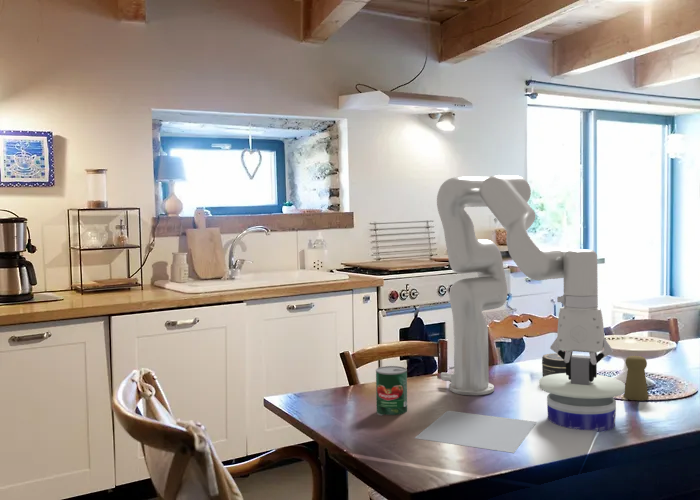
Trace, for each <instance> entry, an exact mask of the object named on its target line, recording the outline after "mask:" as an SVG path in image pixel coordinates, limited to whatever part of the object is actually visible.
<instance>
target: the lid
mask: <svg viewBox="0 0 700 500" xmlns="http://www.w3.org/2000/svg"><path fill="white" fill-rule="evenodd" d="M572 355H573V356H572V357H571V380H569V379H568V375H566V373H559V374H551V375H547V376H544V377H543V376H542V377H541V378H539V379H538V380H539V388H540V389H541V390H542V391H544V392H546V393H548V394H550V393H552V394H555V395H559V396H565V397H572V398H585V399H600V398H610V397H613V398H614V397H619V396H621V395H623V394H624V392H625V385H626V383H624V382H623V381H621V380H620V379H618V378H615V377H612V376H611V377H610V376H606V375H602V374H597V377H596V378H594V380H593V382H590V381H589V365H590V361H591V359H590V355H581V354H580V355H579V354H572Z"/></svg>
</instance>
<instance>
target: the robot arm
mask: <svg viewBox="0 0 700 500" xmlns="http://www.w3.org/2000/svg"><path fill="white" fill-rule="evenodd" d="M531 194H532V189H531V186H530V184H529V183H528V181H527V180H526V179H525V178H523V176H519V175H512V174H511V175H505V174H501V175H500V174H498V175H497V174H496V175H491V176H453V177H451V178H448V179H446V180H445V181H444V182H442V184H441V185H440V187H439V189H438V191H437V196H436V207H437V212H438V215H439V217H440V222H441V224H442V227H443V228H442V229H443V232H444V233H443V235H444V240H445V241H444V242H445V247H446V253H447V258H448V263H449V265H450V268H451V270H452V271H453V272H454V273H456V274H461V275H462V274H463V275H464V274H475V273H476V274H477V277H476V276H475V277H467V278H462V279H459V280H457V281H455V282H454V283H453V284H452V285H451V287H450V289H449V294H448V296H449V297H448V298H449V303H450V309H451V313H452V323H453V361H454V362H453V364H454V365H453V372H451V373H449V372H441V373H440V379H441V380H442V381H447V382H450V384H448V389H449V391H450V392H452V393H454V394H457V395H463V396H464V395H465V396H483V395H489V394H491V393H493V392H494V391H495V386H494V384H492V383H491V382H489V330H488V329H489V328H488V324H487V321H486V318H485V316H484V315H483V311H489V310H496V309H500V308H501V307H503V306H504V305H505V303H507V299H508V283H507V279H506V274H505V267H504V262H503V256H502V253H501V251H500V248H499V247H498V245H497V244H496V243H495V242H494V241H492V240H490V239H485V238H482V239H481V238H479V239H477V236H476V231H475V226H474V223H473V221H472V219H471V217H470V215H469V213H467V211H466V210H465V208H466V207H467V208H469V207H470V208H474V207H475V208H477V207H479V208H481V207H482V208H483V207H484V208H485V207H486V208H488V209H489V211H491V213H492V214H493V215H494V217H495V218H496V220H497V221H498V222H499V223H500V225H501V226H502V227H503V229H504V230H505V231H506V238H505V239H506V246H507V250H508V253H509V256H510V258H511V259H512V260H513V262H514V263H515V264H516V266H517V267H518V268H519V270H520V271H521V272H522V273H523V274H524V275H525V276H526V277H528V278H529V279H531V280H534V281H546V280H555V279H556V280H557V279H563V294H562V295H561V296H557V303H561V304H562V307H560V308H559V313H558V320H557V333H556V334H557V335H556V336H557V337H556V338H555V340H554V341H553V342H552V343H551V345H550V347H549V349H550V350H552V351H553V352H554V353H557V354H558V355H559V356H560V357H561V358H562V359H563V360H564V361H565V362H566V375H568V379H569V380H571V357H572V355H573V352H576V353H577V352H581V353H589V356H590V359H591V361H590V365H589V381H590V382H593V380H594V378H596V377H597V375H598V373H597V368H598V365H597V364H598V363H599V362H600V361H602V359H604V358H605V357H607V356H609V355H611V354H613V352H614V350H613V348H612V347H611V346H610V344H609V342H608V341H607V339H606V338H605V327H604V319H603V314H602V310H601V308H600V307H599V305H598V296H599V295H598V290H599V289H598V287H599V286H598V285H599V284H598V283H599V282H598V254H597V252H596V251H595V250H592V249H571V248H565V247H550V248H549V247H546V248H539V247H538V246H537V245H536V244H535V243H534V242H533V240H532V239H531V237H530V236H529V235H528V234H529V233H528V232H527V231H528V230H529V228H531V226H532V225H533V223H534V222H535V220H536V212H535V211H534V209H533V208H532V207H531V205H530V204H529V203H528V202H529V201H530V198H531ZM602 350H603V351H602Z"/></svg>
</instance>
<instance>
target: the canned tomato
mask: <svg viewBox="0 0 700 500" xmlns="http://www.w3.org/2000/svg"><path fill="white" fill-rule="evenodd" d="M407 372H408V369H407V368H406V367H404V366H398V365H387V366H379V367H378V368H376V369H375V384H376V385H375V387H376V389H375V390H376V391H375V393H376V395H375V397H376V399H375V400H376V402H375V403H376V411H375V412H376V414H377V415H378V416H381V417H382V416H384V415H386V416H394V415H395V416H396V415H397V416H398V415H403V414H405V413H407V412H408V373H407Z"/></svg>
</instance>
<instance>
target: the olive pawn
mask: <svg viewBox="0 0 700 500" xmlns="http://www.w3.org/2000/svg"><path fill="white" fill-rule="evenodd" d="M647 366H648V362H647V359H646V358H645V357H644V356H642V355H641V356H640V355H628V356H626V359H625V367H626V368H627V372H626V380H625V392H624V393H623V394H624V395H623V398H625V397H626V398H625V399H628V400H631V401H647V400H649V399H650V398H649V391H648V387H647V386H648V385H647V378H646V368H647Z"/></svg>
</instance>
